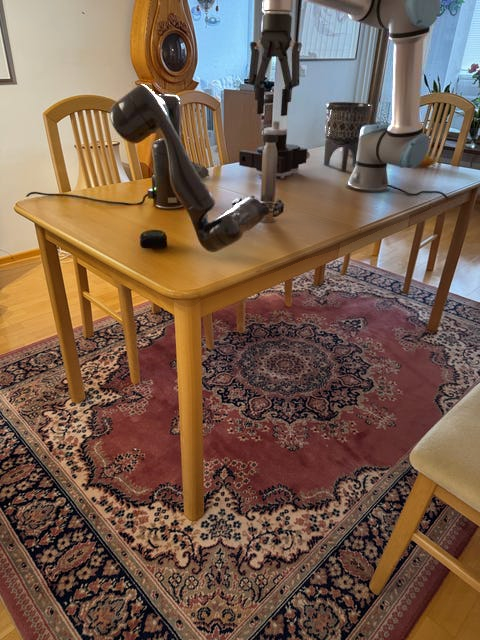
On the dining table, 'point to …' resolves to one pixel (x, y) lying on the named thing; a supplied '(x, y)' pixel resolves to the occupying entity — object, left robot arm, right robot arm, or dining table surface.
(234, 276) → the dining table surface
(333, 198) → the dining table surface
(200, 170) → the rock
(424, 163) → the toy
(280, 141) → the mechanical component
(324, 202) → the dining table surface
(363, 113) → the planter
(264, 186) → the bottle
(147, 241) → the tape measure
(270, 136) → the cap
